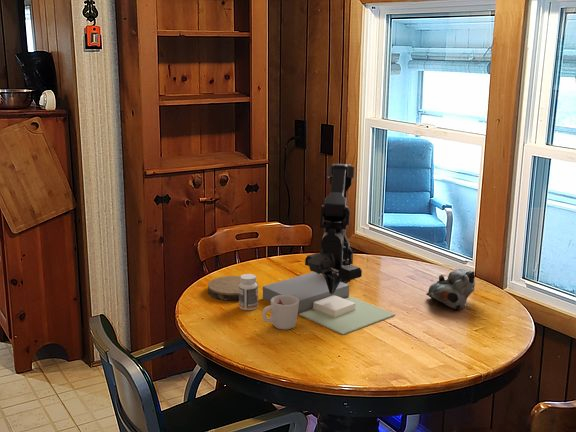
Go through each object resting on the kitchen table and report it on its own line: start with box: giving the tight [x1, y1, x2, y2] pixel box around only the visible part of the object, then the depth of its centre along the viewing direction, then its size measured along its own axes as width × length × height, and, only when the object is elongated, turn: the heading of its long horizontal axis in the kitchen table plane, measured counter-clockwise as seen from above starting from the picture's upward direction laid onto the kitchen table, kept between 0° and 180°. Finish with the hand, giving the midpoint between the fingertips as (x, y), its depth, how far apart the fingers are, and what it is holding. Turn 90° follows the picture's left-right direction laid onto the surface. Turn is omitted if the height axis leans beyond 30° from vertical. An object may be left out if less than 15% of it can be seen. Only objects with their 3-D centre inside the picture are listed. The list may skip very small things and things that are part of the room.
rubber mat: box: [299, 296, 396, 336], centre depth 205 cm, size 22×18×1 cm
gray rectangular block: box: [262, 271, 350, 314], centre depth 217 cm, size 22×16×4 cm
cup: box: [261, 295, 299, 331], centre depth 194 cm, size 11×8×8 cm
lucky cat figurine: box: [425, 268, 476, 312], centre depth 213 cm, size 15×12×14 cm
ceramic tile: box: [313, 295, 356, 317], centre depth 208 cm, size 9×9×2 cm
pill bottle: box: [238, 273, 259, 311], centre depth 208 cm, size 6×6×10 cm
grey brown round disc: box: [207, 275, 259, 303], centre depth 221 cm, size 16×16×3 cm
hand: (331, 293), depth 208 cm, fingers closed
